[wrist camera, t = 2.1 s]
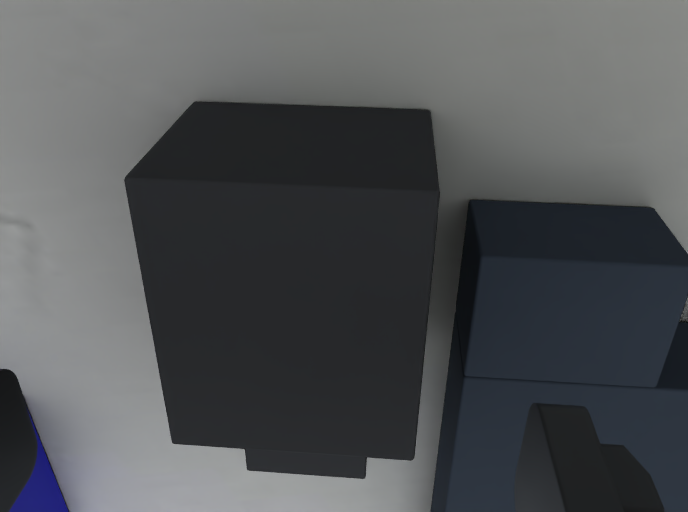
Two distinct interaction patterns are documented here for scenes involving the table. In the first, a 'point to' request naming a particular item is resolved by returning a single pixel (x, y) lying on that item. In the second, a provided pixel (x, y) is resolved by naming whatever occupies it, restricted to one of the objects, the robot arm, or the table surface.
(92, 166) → the table surface
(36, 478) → the blue half-round bracket
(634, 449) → the grey pad
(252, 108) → the black usb stick
